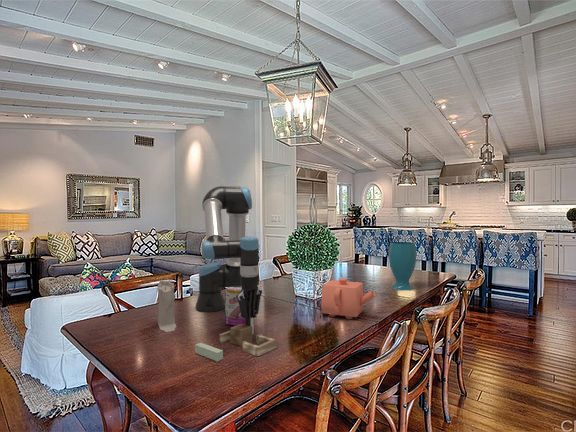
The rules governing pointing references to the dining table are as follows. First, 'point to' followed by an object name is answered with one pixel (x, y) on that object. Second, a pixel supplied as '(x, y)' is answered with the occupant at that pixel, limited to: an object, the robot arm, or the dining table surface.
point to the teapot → (344, 298)
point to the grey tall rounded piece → (166, 306)
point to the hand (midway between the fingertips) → (250, 333)
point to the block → (241, 334)
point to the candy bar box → (232, 307)
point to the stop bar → (209, 351)
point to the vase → (402, 263)
